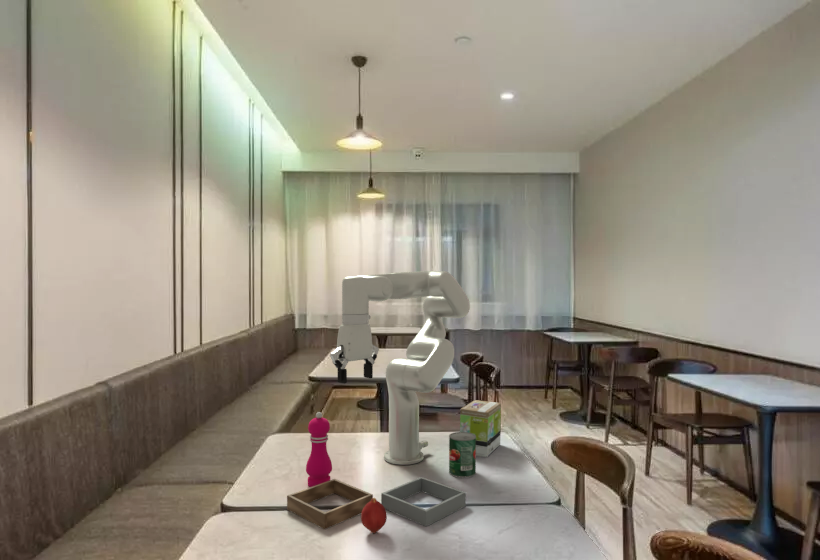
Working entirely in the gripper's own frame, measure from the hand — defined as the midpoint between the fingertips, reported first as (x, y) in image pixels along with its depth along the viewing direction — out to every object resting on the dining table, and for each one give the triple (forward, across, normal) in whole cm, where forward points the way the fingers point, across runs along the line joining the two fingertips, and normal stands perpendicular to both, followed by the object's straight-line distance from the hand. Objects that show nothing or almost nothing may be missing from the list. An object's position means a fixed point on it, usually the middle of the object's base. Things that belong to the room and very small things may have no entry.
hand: (355, 380), depth 152 cm
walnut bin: (+28, +17, +10) cm, 34 cm away
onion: (+28, +18, +27) cm, 43 cm away
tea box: (+29, -46, +10) cm, 55 cm away
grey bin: (+28, 0, +26) cm, 38 cm away
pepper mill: (+28, +9, -5) cm, 30 cm away
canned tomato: (+28, -25, +19) cm, 42 cm away
